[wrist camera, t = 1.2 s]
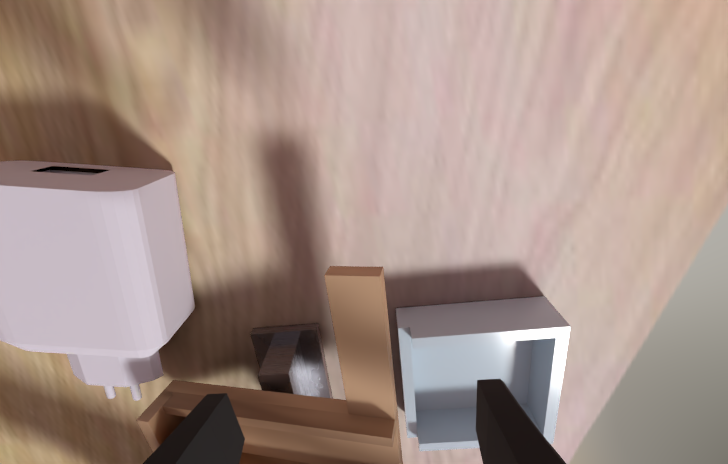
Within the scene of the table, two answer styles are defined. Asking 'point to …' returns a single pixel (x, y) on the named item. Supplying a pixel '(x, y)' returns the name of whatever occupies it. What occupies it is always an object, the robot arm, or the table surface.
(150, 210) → the charger
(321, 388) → the fulcrum
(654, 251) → the table surface
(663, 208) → the table surface
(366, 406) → the lever
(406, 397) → the dish
